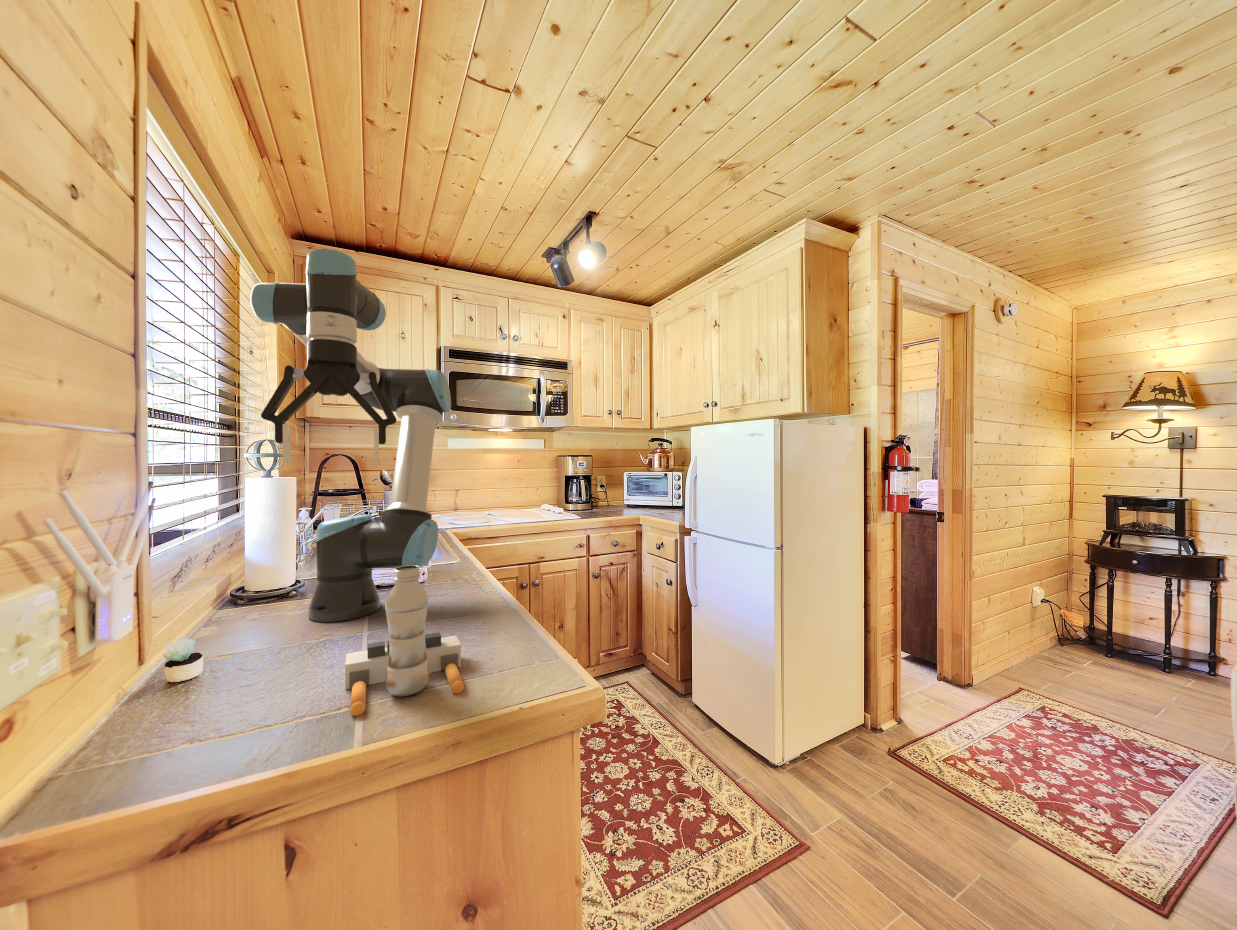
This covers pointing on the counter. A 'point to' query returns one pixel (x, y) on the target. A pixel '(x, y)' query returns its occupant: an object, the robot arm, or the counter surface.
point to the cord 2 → (454, 678)
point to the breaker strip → (375, 659)
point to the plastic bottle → (407, 633)
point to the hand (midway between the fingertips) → (333, 462)
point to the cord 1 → (358, 698)
